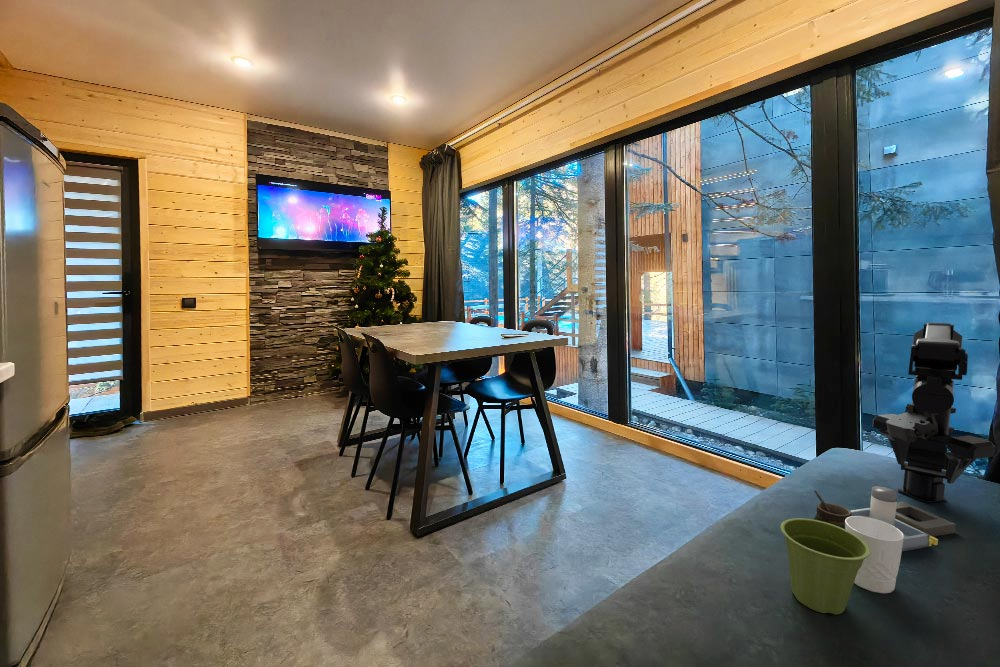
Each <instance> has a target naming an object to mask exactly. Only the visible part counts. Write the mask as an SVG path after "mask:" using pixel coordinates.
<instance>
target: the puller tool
mask: <svg viewBox="0 0 1000 667" xmlns="http://www.w3.org/2000/svg"><path fill="white" fill-rule="evenodd" d="M938 542H939V539H938V538H936V537H935V536H933V537H932V536H930V537H929V547H932V545H934V546H938V544H939V543H938Z"/></svg>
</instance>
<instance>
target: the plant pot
mask: <svg viewBox="0 0 1000 667" xmlns="http://www.w3.org/2000/svg"><path fill="white" fill-rule="evenodd" d="M813 519H814V518H813ZM813 519H812V518H802V517H799V518H797V517H796V518H795V517H794V518H789V519H786V520H784V521H783V522H781V524H780V531H781V533H782V534H783V535H784V542H785V546H786V548H787V556H788V566H789V575H790V584H791V591H792V592H791V593H792V594H793V596H795V598H796V600H797V601H798V602H799V603H801V604H802V605H804V606H805V607H807V608H809V609H811V610H813V611H814V612H818V613H821V614H827V613H829V614H832V615H840V614H843V613H845V612H844V611H845V610H846V607H847V605H848V601H849V599H850V595H851V592H852V589H853V586H854V584H855V583H854V581H855V578H856V575H857V572H858V570H859V569H860V567H861V566H862V563H863V560H864V559H865V558H867V557H868V556H869V555H870V548H869V547H868V545H867V544H866V543H865V542H864V541H863V540H862V539H860V538H859V537H858V536H856V535H855V534H853V533H851V532H849V531H847V530H845V529H843V528H841V527H838V526H835V525H833V524H830V523H826V522H822V521H818V520H813Z"/></svg>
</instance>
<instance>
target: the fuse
mask: <svg viewBox="0 0 1000 667" xmlns="http://www.w3.org/2000/svg"><path fill="white" fill-rule="evenodd" d="M897 502H898V492H897V491H896V490H893V489H891V488H889V487H886V486H879V485H877V486H876V485H875V486H871V495H870V507H869V508H870V516H869V518H873V519H877V520H880V521H883V522H886V523H888V524H890V525H892V526H895V515H896V504H897Z"/></svg>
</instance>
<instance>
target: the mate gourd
mask: <svg viewBox="0 0 1000 667" xmlns="http://www.w3.org/2000/svg"><path fill="white" fill-rule="evenodd" d="M814 493H815V495H816V497H817V498H818V500H819V501H820V502H819V503H818V504H817V505H816V514H815V516H814V518H813V520H818V521H822V522H826V523H830V524H833V525H835V526H838V527H841V528H843V529H845V519H846V518H848V517H851V511H850V509H848V508H846V507H845V506H842V505H839V504H836V503H831V502H825V501H824V500H823V499H822V497H821V496H820V494H819V493H818V491H817V490H814Z"/></svg>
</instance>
